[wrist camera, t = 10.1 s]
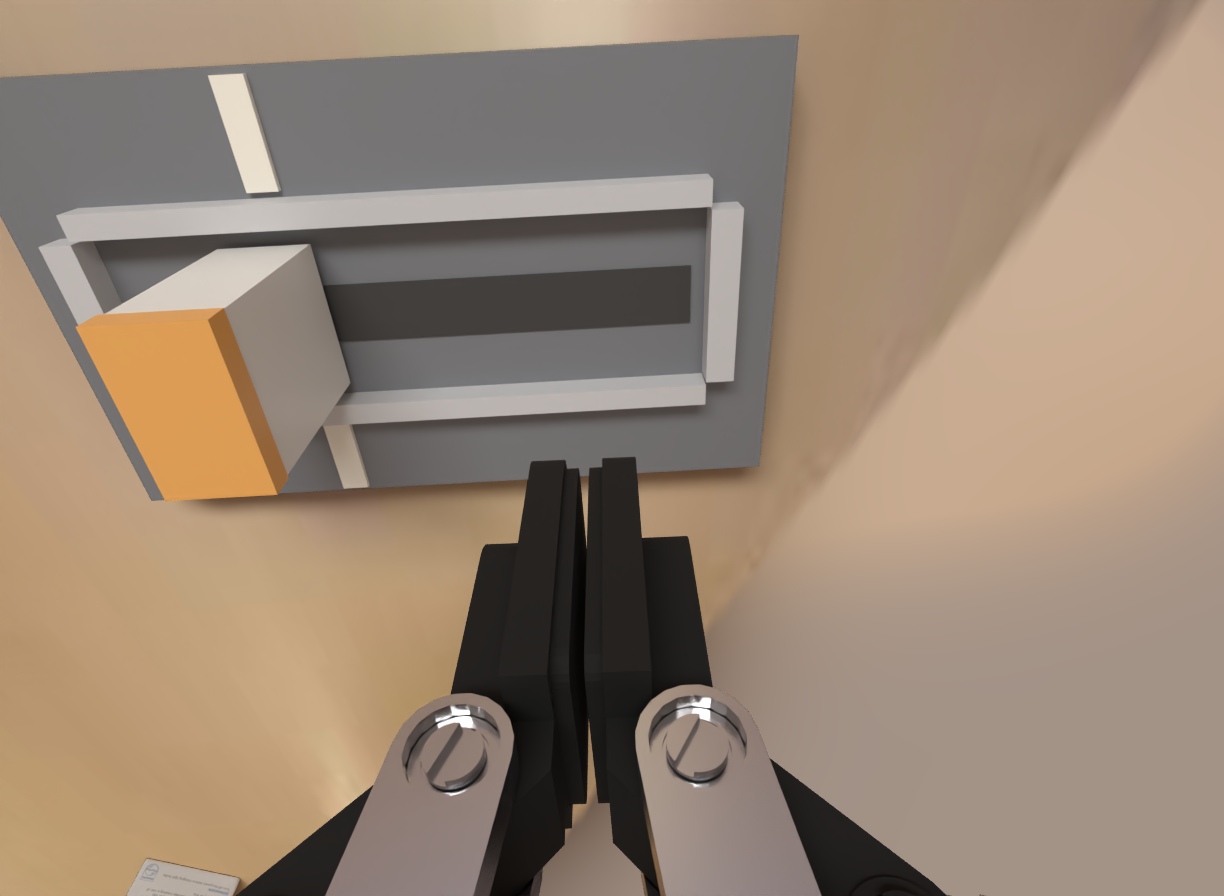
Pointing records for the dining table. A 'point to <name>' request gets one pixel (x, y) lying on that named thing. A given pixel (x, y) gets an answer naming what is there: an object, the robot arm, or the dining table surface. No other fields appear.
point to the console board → (447, 239)
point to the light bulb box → (180, 881)
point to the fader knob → (223, 370)
